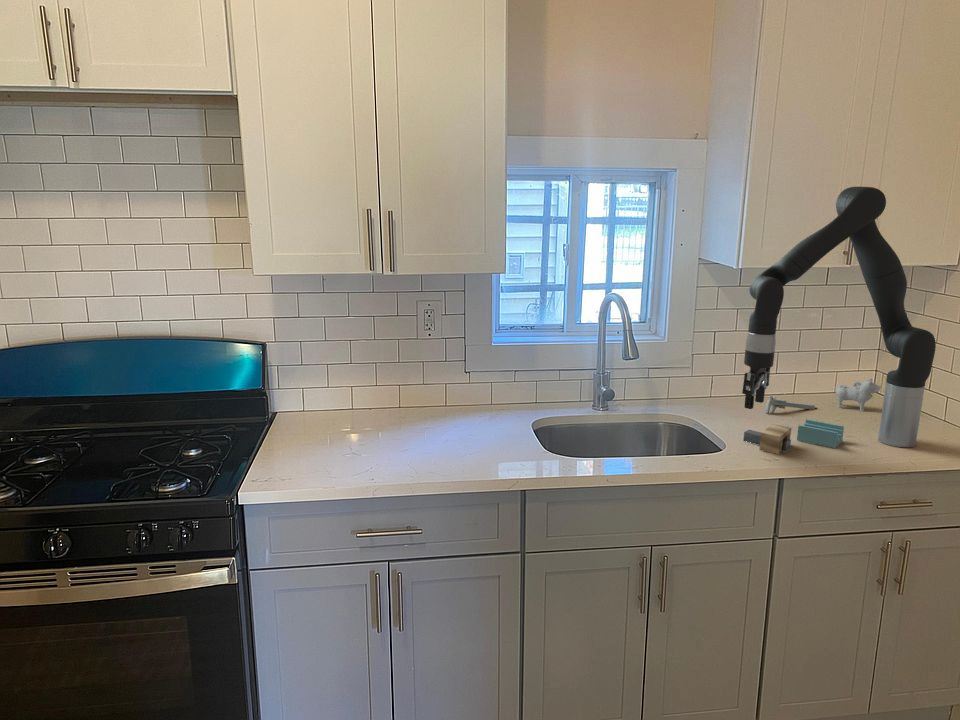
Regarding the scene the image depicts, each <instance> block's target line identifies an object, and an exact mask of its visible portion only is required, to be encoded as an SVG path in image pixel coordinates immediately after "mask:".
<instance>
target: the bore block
mask: <svg viewBox="0 0 960 720" xmlns="http://www.w3.org/2000/svg"><path fill="white" fill-rule="evenodd" d="M791 434H792V427H789V426H786V425H785V426H784V425H780V424H774V423H773V424H771V425H770V426H768V427H766V428H765V429H764V430H763V431H761V438H760V445H759V451H762V450H763V452H766V451H767V453H772V454H775V453H776V455H779V454H781V452H783V451H782V442H783V438H785V439H790V440H791Z"/></svg>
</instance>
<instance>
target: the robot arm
mask: <svg viewBox="0 0 960 720" xmlns="http://www.w3.org/2000/svg"><path fill="white" fill-rule="evenodd" d="M886 205H887V198H886V195H885V193H884V192H883V191H882V190H880V189H878V188H876V187H873V186H851V187H847V188H844V189H843V190H842V191H841V192H840V193H839V194H838V196H837V198H836V202H835V210H836V213H837V216H836V217H835V218H834V219H832V221H830V222H829V223H828V224H826V225H825V226H824V227H822V228H820V229H819V230H817V231H816V232H814V233H813V234H810V235H809V236H807V237H806V238H804V239H802V240H801V241H799V242H798V243H797V244H796V245H795V246H793V247H792V248H791V249H790V250H789V251H788V252H787V253H786V254H785V255H783V257H781V258H780V259H779V260H778V261H776V262H775V263H774V264H772V265H771V266H769V267H768V268H766V269H765V270H763V271H762V272H761V273H759V274H758V275H757V276H756V277H755V278H754V279H753V280H752V281H751V282H750V285H749V289H748V290H749V294H750V296H751V297H752V298H753V299H754V300H755V306H754V310H753V312H751V314H750V316H749V320H748V332H747V336H746V340H745V349H744V350H745V351H744V359H743V364H744V365H745V366H747V367H749V371H748V372H744V375H743V384H742V391H741V393H742V394H743V395H745V399H744V408H745V409H747V410H748V409H749V410H752V409H753V408H754V406H755V405H754V403H755V402H756V403H760V404H762V403H764V401H765V395H766V394H765V393H766V389H767V388H768V387H769V385H770V374H771V368H773V366H774V361H775V351H776V333H777V324H778V316H779V314H780V311H781V309H782V304H783V302H784V295H785V291H784V286H786V285H788V283H790V282H792V281H796V280H798V279H800V278H801V277H802V276H803V275H804V274H806V273H807V272H808V271H809V270H810V269H811V268H812V267H813V266H815V265H816V264H817V263H818V262H819V261H820V260H822V259H823V258H824V257H825V256H827V255H828V254H829V253H830V252H831V251H832V250H834V249H835V248H836V247H837V246H839V245H841V243H843V242H845V241H846V240H847V239H848V238H849V239H850V243H851V245H852V247H853V249H854V253H855V257H856V258H857V262H858V264H859V267H860V270H861V273H862V276H863V280H864V282H865V285H866V287H867V290H868V292H869V294H870V297H871V300H872V302H873V306H874V309H875V311H876V314H877V316H878V321H879V323H880V324H879V325H880V329H881V333H882V338H883V342H884V346H885V348H886V350H887V351H888V353H890V355H892V356H893V357H895V358H899V364H898V367H897V369H895V370H890V371H888V372H887V374H886V379H885V380H886V381H885V388H884V395H883V402H882V409H881V416H880V421H879V422H880V423H879V430H878V436H877V437H878V438H877V440H878V441H879V442H880V443H882V444H886V445H888V446H893V447H899V448H912V447H915V446H916V445H917V439H918V433H919V427H920V420H921V415H922V414H921V413H922V407H923V400H924V392H925V388H926V381H927V380H928V379H929V377H930V375H931V372H932V367H933V364H934V363H933V362H934V358H935V353H936V347H937V346H936V344H937V343H936V339H935V336H934V334H933V333H932V332H931V331H929V330H926V329H923V328H919V327H915V326H913V325H912V323H911V322H910V319H909V317H908V315H907V312H906V309H905V299H906V295H907V294H906V293H907V288H908V281H907V276H906V274H905V270H904V268H903V265H902V262H901V260H900V258H899V256H898V254H897V253H896V252H895V250H894V249H893V248H892V246H891V245H890V243H888V242H887V240H886V239H885V237H884V236H883V235H882V233H881V231H880V230H879V227H878V225H877V222H876V220H877V219H878V218H879V217H880V216H881V215H882V214H883V213H884V211H885V208H886Z"/></svg>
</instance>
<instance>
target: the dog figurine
mask: <svg viewBox="0 0 960 720" xmlns="http://www.w3.org/2000/svg"><path fill="white" fill-rule="evenodd" d="M852 383H853V384H852V387H851V386H849V387H848V386H847V385H845V384H839V385H837V387H836V388H837V389H835V396H836V401H837V403H836V404H837V405H836V406H837V409H840V408H842V409H843V407H842V406H843V404H842V402H843V401H854V402H857V403H858V404H859V412H861V411H862V412H863V413H864V412H865V403H867V402H868V401H870V400H871V399H872V397H873V394H874V393H875V394H877V393H878V392H879V391H880V390H881V389H882V385H878V384H877V383H875V382H873V378H868V379H866V380H864V381H863V382H861V383H860V382H859V381H854V382H852ZM841 405H842V406H841Z"/></svg>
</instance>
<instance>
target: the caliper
mask: <svg viewBox="0 0 960 720" xmlns="http://www.w3.org/2000/svg"><path fill="white" fill-rule="evenodd" d="M776 397H777V396H775V395H769V398H767V401H766V403H765V414H768V415H769V414H771V413H773V414H775V412H776V410H777V408H779V409H783V410H784V409H786V408H795V409H796V408H797V409H802V410H803V409H804V410H815V408H818V407H816V405H814V404H808V403H807V404H806V403H801V402H800V403H799V402H792V401H791V402H790V401H787V400H785V399H784V400H783V399H777V398H776Z"/></svg>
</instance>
